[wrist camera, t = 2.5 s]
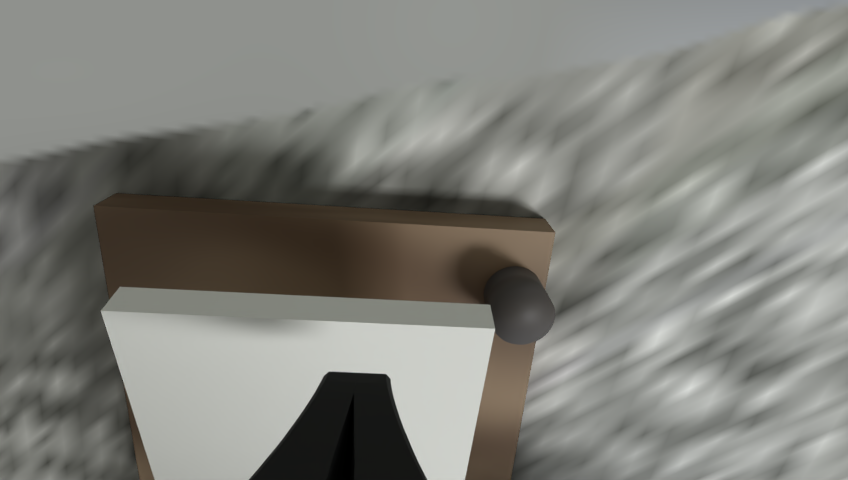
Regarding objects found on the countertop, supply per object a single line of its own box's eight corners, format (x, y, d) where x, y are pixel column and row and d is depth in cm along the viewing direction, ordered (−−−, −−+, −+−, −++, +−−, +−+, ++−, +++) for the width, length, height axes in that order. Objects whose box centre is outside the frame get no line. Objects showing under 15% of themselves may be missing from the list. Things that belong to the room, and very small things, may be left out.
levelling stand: (488, 548, 26) (502, 634, 23) (168, 542, 25) (127, 631, 22) (544, 218, 20) (578, 262, 16) (116, 193, 19) (43, 233, 15)
